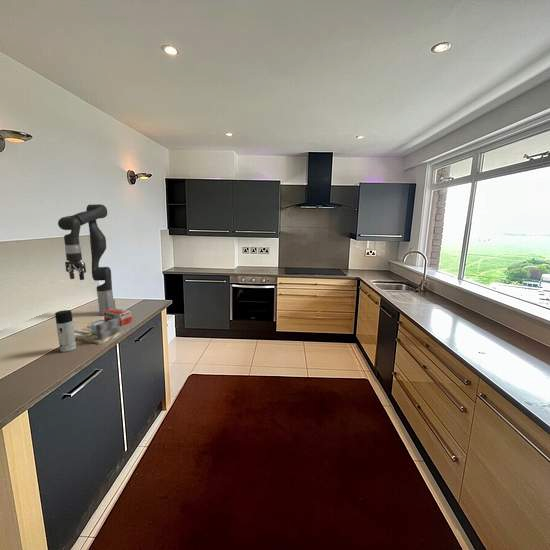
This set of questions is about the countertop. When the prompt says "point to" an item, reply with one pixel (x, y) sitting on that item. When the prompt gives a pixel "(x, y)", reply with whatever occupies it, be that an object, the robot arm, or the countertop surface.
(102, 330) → the base
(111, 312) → the medicine box
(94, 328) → the gauge slider
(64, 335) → the spray can
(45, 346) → the countertop surface
